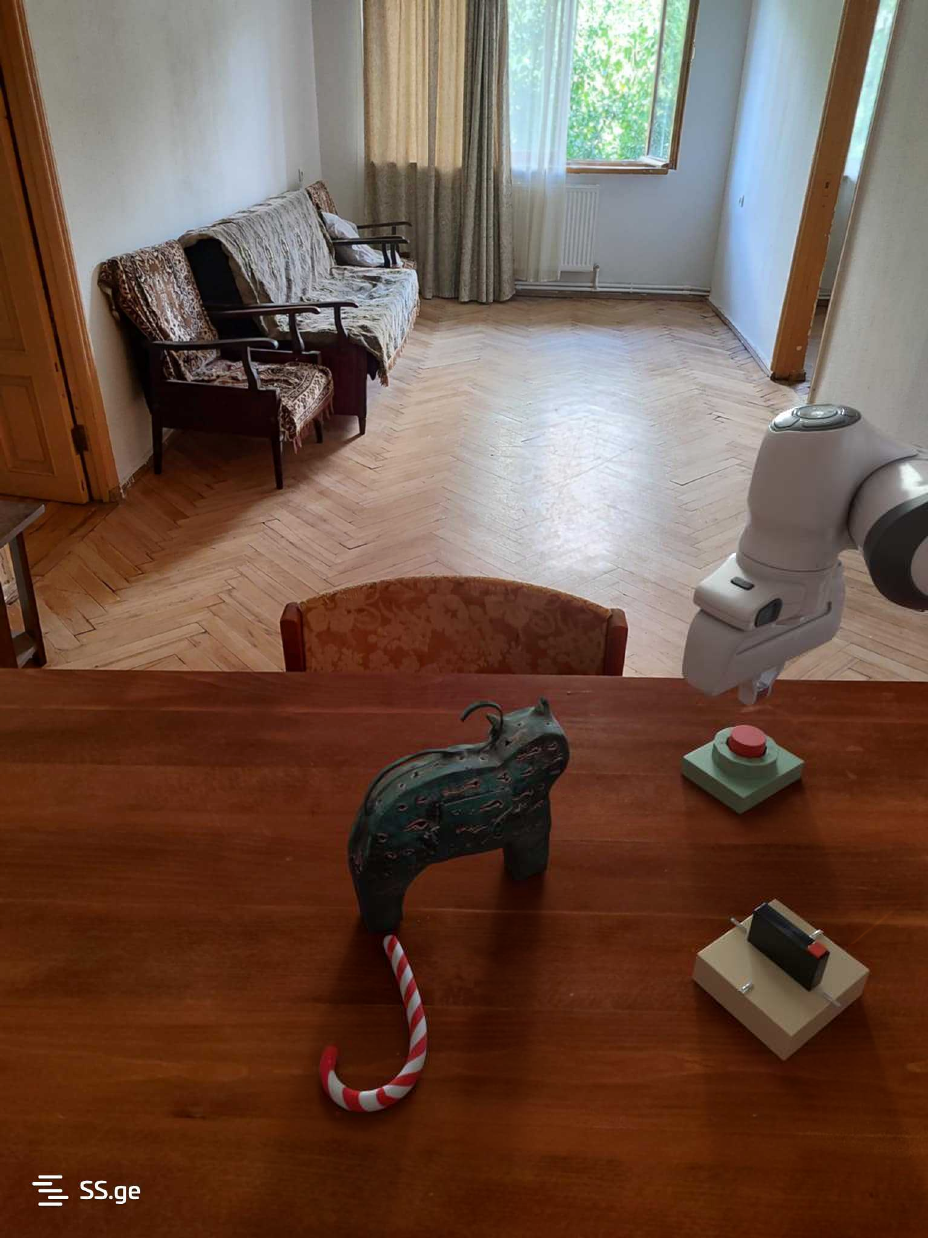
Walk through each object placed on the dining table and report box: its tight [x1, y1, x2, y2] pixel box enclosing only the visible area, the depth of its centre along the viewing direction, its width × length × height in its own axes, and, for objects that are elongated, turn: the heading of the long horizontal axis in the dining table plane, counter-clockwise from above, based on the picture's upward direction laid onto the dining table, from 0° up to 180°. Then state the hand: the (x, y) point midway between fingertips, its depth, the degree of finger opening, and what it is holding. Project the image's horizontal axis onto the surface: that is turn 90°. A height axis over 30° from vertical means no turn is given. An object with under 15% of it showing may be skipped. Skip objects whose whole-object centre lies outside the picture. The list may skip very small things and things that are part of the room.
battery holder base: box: [692, 898, 870, 1062], centre depth 71 cm, size 10×10×3 cm
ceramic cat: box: [347, 695, 571, 934], centre depth 75 cm, size 20×6×20 cm, turn 115°
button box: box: [680, 726, 805, 815], centre depth 94 cm, size 10×8×4 cm
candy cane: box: [319, 934, 428, 1113], centre depth 68 cm, size 8×1×15 cm
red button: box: [728, 724, 767, 759], centre depth 93 cm, size 4×4×2 cm
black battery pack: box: [747, 902, 830, 992], centre depth 69 cm, size 6×2×4 cm, turn 35°
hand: (753, 698), depth 90 cm, fingers closed
